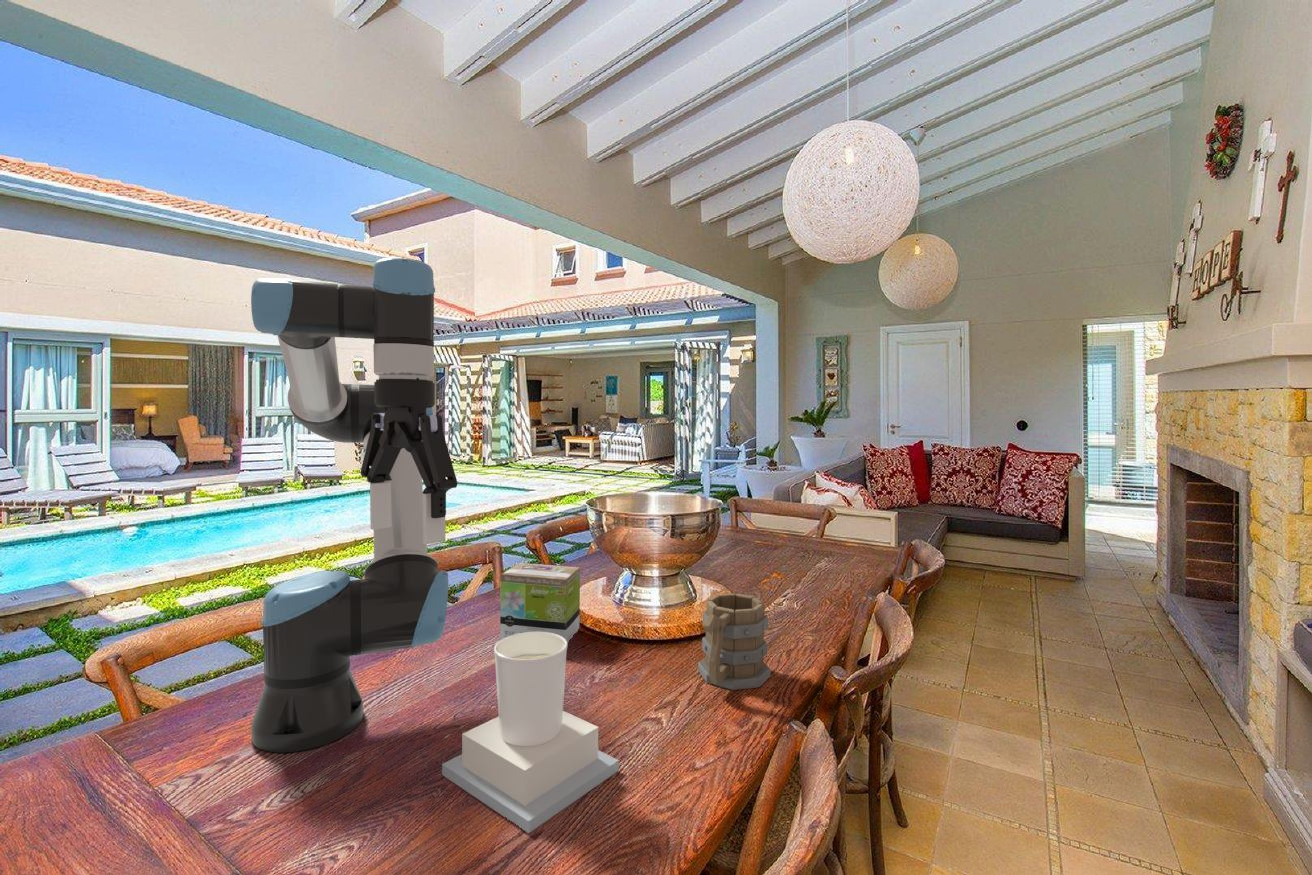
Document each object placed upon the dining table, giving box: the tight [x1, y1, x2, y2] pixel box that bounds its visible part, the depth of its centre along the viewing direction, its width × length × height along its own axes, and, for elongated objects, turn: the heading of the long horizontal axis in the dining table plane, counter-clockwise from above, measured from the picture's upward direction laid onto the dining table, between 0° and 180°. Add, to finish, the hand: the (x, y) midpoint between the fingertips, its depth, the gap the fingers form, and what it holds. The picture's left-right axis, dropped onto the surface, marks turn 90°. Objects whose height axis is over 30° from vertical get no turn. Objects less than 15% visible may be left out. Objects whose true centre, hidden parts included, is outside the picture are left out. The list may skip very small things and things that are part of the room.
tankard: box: [697, 592, 771, 691], centre depth 112 cm, size 20×13×15 cm, turn 149°
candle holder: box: [493, 632, 568, 747], centre depth 83 cm, size 10×10×12 cm
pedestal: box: [441, 710, 620, 834], centre depth 84 cm, size 18×16×6 cm
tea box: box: [499, 562, 581, 644], centre depth 133 cm, size 15×10×15 cm
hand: (406, 535), depth 83 cm, fingers open, 13 cm apart
